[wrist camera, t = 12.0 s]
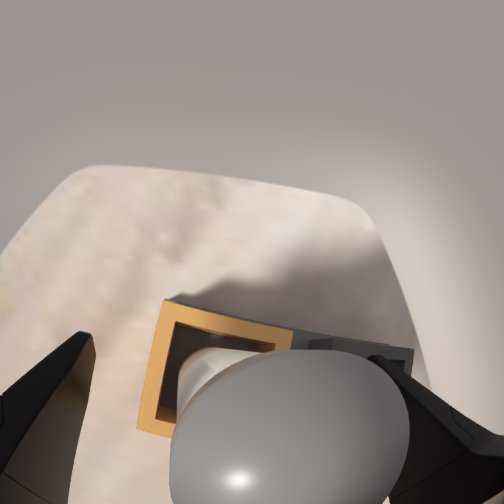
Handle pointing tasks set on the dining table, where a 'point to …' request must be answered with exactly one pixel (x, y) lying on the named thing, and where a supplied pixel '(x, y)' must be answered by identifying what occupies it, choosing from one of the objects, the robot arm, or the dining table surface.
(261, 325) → the two-tone square organizer tray
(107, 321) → the dining table surface
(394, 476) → the plug
